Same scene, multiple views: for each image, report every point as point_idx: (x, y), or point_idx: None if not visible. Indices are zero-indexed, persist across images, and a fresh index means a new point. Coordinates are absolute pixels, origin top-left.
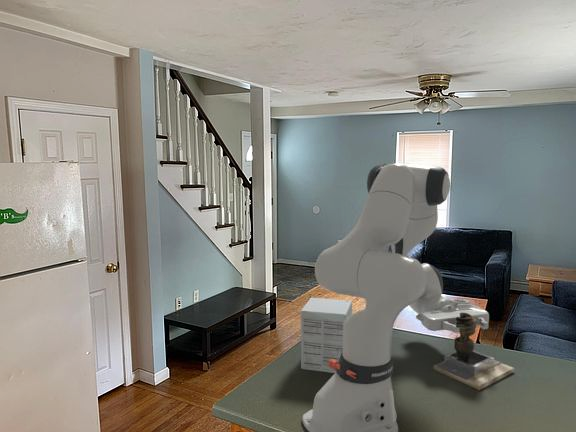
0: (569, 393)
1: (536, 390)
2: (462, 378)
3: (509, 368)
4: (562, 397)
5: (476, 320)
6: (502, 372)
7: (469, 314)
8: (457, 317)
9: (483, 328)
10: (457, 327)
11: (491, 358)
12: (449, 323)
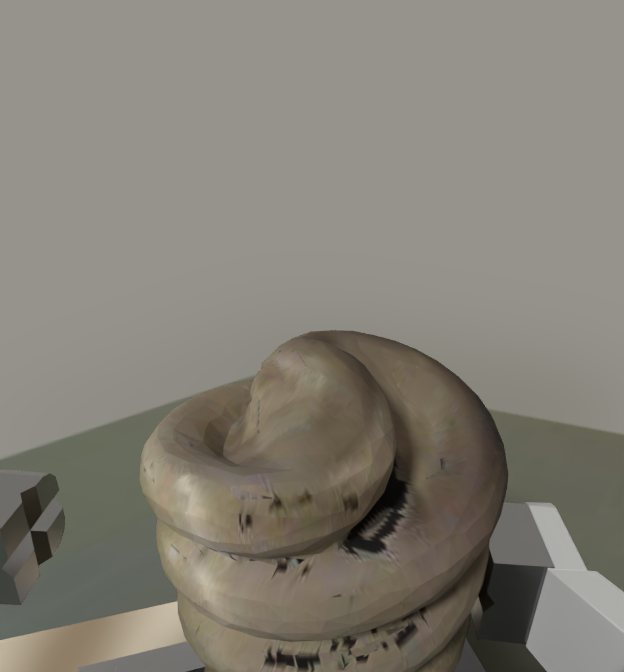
0: (48, 447)
1: (138, 492)
2: (468, 650)
3: (26, 647)
4: (109, 440)
5: (210, 394)
6: (137, 619)
7: (298, 339)
8: (491, 450)
9: (61, 530)
10: (508, 502)
11: (108, 669)
12: (614, 619)
